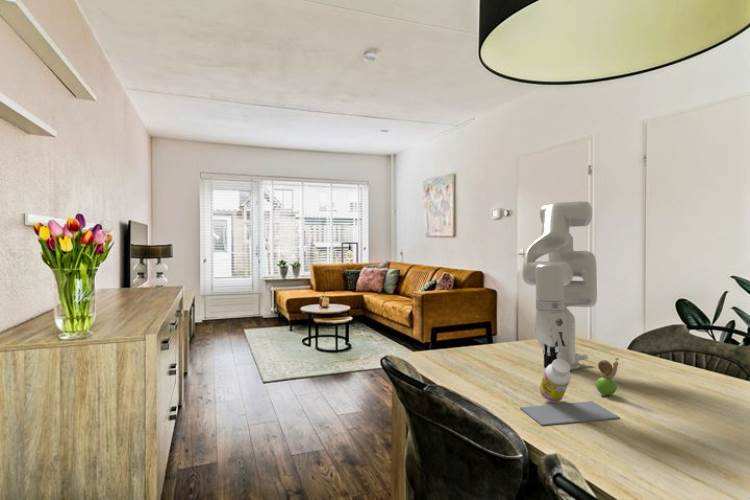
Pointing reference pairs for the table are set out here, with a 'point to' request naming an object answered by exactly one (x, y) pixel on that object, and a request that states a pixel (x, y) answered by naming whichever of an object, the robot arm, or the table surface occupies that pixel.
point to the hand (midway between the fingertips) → (550, 368)
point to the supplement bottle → (555, 380)
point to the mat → (568, 413)
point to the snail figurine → (607, 377)
